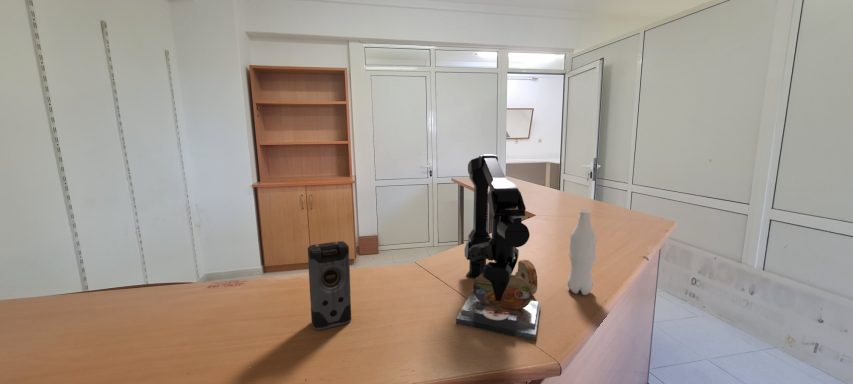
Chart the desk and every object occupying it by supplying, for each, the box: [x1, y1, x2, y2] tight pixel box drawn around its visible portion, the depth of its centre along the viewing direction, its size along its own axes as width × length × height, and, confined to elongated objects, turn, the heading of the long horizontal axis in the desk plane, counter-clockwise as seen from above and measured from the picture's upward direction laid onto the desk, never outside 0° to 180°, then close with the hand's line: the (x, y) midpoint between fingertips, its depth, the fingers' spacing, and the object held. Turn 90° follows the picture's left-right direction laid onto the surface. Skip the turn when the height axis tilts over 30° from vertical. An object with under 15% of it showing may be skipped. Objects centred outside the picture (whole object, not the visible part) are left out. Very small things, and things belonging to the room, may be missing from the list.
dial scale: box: [455, 290, 541, 342], centre depth 85 cm, size 18×19×4 cm
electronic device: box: [307, 240, 352, 331], centre depth 82 cm, size 9×6×20 cm, turn 117°
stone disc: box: [514, 259, 538, 296], centre depth 99 cm, size 10×4×10 cm, turn 5°
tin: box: [472, 273, 532, 309], centre depth 87 cm, size 15×3×8 cm, turn 68°
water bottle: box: [566, 210, 597, 296], centre depth 99 cm, size 7×7×25 cm
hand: (501, 292), depth 86 cm, fingers open, 9 cm apart
